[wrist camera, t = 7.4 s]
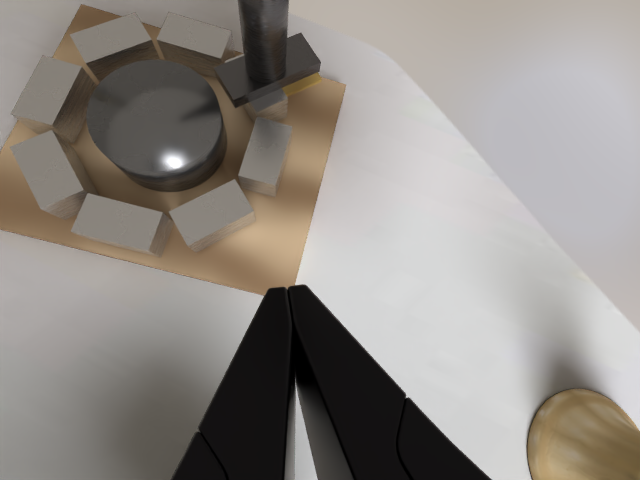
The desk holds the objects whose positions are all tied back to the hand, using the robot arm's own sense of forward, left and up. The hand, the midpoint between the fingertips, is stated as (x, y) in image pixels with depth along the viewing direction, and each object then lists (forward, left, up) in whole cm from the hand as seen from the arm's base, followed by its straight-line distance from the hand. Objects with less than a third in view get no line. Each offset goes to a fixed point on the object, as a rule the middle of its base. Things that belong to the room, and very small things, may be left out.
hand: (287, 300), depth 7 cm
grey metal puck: (+9, +10, -13) cm, 18 cm away
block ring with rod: (+10, +9, -12) cm, 18 cm away
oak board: (+9, +9, -14) cm, 18 cm away
